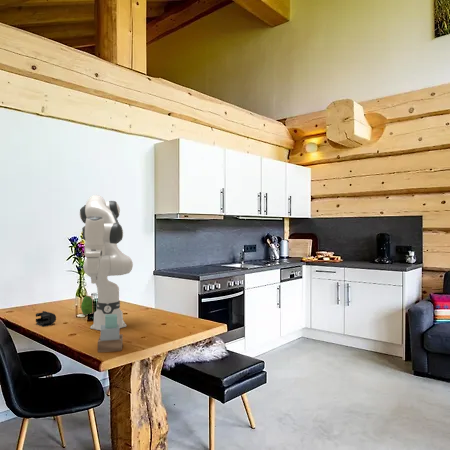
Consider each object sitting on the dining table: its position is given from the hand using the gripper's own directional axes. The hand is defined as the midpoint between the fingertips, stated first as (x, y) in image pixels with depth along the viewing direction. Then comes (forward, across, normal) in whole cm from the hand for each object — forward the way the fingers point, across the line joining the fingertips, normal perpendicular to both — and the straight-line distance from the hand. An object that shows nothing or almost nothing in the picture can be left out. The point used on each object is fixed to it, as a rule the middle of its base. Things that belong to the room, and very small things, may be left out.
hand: (94, 281), depth 181 cm
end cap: (+31, -48, -30) cm, 65 cm away
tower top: (+25, +6, +7) cm, 26 cm away
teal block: (+20, +6, +8) cm, 22 cm away
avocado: (+32, -67, -10) cm, 75 cm away
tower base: (+30, +6, +8) cm, 31 cm away
